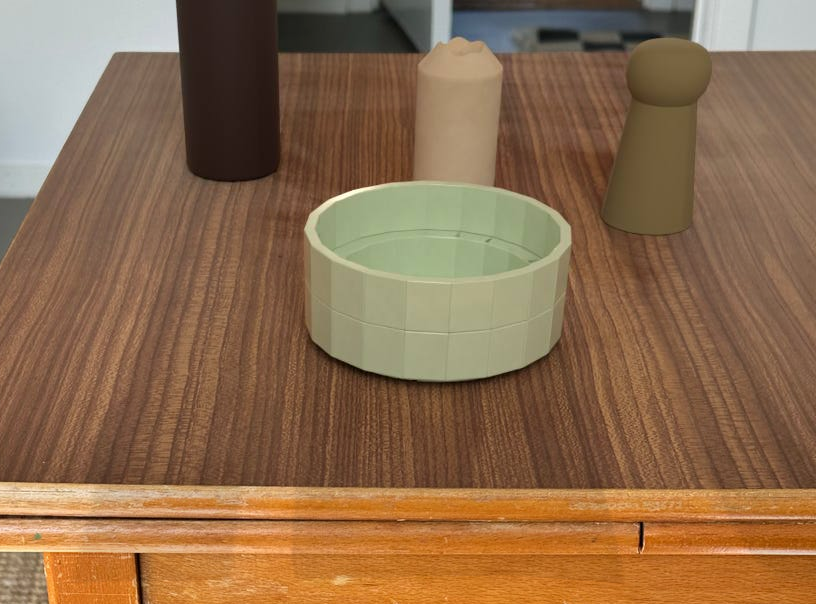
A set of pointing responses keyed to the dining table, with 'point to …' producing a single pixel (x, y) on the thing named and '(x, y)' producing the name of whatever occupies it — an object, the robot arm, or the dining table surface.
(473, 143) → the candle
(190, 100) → the bottle
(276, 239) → the dining table surface
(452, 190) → the bowl
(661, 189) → the olive brown knobbed cone
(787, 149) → the dining table surface
